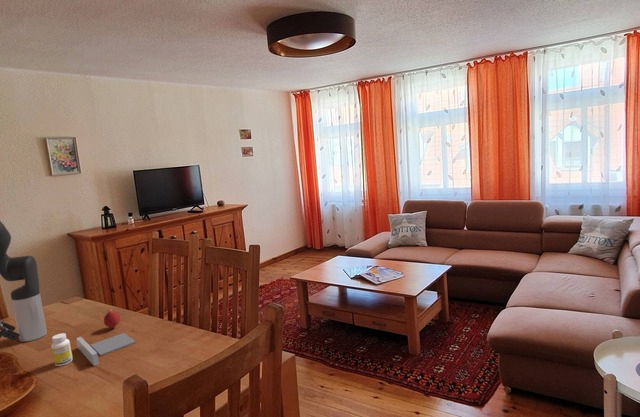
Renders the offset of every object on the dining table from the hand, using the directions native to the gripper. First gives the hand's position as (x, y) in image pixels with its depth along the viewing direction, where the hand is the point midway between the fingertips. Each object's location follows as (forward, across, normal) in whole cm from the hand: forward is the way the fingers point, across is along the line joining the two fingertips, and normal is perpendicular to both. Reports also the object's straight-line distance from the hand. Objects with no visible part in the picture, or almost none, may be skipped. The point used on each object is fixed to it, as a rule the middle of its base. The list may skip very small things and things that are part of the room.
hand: (15, 333), depth 126 cm
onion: (+34, +16, -12) cm, 39 cm away
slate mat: (+30, 0, -9) cm, 31 cm away
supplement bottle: (+19, 0, +3) cm, 19 cm away
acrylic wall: (+24, -2, -2) cm, 24 cm away
